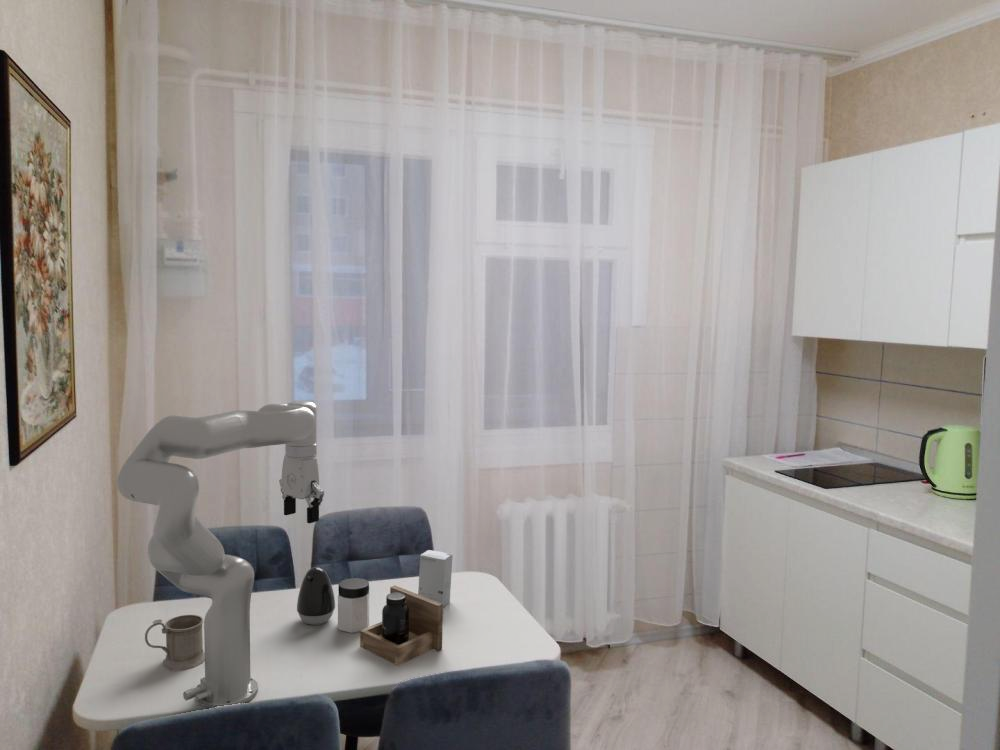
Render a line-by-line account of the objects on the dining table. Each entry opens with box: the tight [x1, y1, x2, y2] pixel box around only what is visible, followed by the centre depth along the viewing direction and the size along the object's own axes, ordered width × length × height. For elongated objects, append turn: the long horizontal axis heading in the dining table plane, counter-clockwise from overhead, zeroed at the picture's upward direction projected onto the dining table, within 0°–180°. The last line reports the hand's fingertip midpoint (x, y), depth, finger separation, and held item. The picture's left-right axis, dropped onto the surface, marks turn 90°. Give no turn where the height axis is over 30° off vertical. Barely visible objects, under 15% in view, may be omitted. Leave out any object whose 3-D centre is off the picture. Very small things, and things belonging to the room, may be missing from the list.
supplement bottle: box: [381, 592, 409, 645], centre depth 189 cm, size 7×7×12 cm
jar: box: [337, 577, 370, 634], centre depth 202 cm, size 9×8×12 cm
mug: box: [144, 614, 205, 671], centre depth 179 cm, size 14×10×12 cm
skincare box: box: [417, 549, 454, 608], centre depth 218 cm, size 8×6×15 cm
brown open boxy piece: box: [359, 584, 444, 667], centre depth 190 cm, size 13×18×12 cm
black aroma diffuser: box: [296, 566, 336, 626], centre depth 204 cm, size 10×10×15 cm
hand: (301, 518), depth 187 cm, fingers open, 9 cm apart
